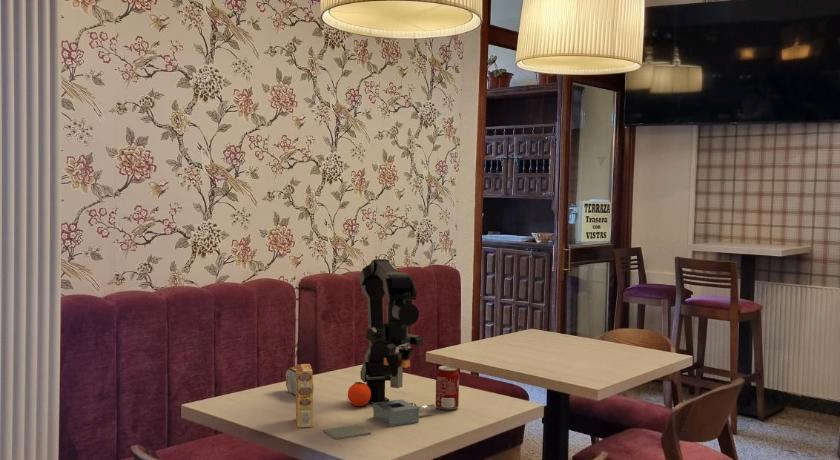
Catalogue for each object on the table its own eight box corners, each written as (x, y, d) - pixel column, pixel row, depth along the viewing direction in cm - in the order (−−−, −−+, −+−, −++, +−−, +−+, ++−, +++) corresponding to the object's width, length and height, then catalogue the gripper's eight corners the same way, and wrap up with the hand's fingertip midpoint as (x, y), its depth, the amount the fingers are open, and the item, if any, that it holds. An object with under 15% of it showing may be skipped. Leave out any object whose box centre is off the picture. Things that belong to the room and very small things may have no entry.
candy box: (313, 427, 214) (313, 370, 213) (297, 428, 213) (297, 371, 212) (310, 418, 222) (310, 363, 221) (294, 418, 221) (295, 364, 220)
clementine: (343, 403, 239) (343, 379, 238) (365, 401, 241) (365, 377, 241) (351, 409, 231) (352, 385, 231) (374, 407, 234) (374, 383, 234)
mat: (323, 430, 211) (323, 429, 210) (357, 426, 215) (358, 424, 215) (335, 439, 204) (335, 437, 204) (370, 434, 208) (370, 432, 208)
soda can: (456, 412, 231) (457, 370, 230) (433, 410, 232) (434, 369, 232) (460, 406, 238) (460, 366, 237) (437, 404, 239) (438, 364, 238)
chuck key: (388, 384, 224) (388, 356, 224) (409, 387, 221) (409, 359, 221) (383, 386, 222) (383, 358, 222) (404, 389, 219) (405, 361, 218)
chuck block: (373, 417, 224) (373, 402, 224) (424, 410, 232) (425, 396, 232) (389, 426, 216) (389, 411, 215) (442, 418, 224) (442, 404, 224)
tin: (314, 400, 241) (314, 373, 240) (304, 402, 239) (304, 374, 239) (292, 390, 253) (292, 363, 253) (283, 391, 251) (283, 364, 251)
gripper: (391, 312, 233) (390, 365, 234) (353, 320, 217) (353, 377, 218) (424, 316, 227) (423, 370, 228) (388, 325, 211) (387, 383, 212)
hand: (396, 375), depth 222 cm, fingers closed on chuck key, 2 cm apart
